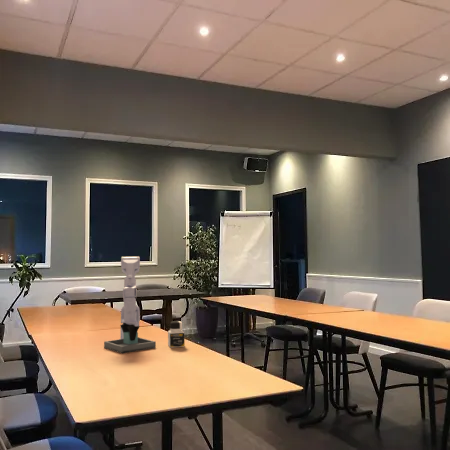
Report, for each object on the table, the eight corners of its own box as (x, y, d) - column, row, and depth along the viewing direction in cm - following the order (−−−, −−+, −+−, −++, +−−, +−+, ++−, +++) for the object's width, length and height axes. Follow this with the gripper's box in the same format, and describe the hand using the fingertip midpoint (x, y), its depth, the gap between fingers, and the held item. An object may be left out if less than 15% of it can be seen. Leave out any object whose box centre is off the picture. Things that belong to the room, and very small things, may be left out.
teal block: (123, 342, 225) (123, 332, 225) (132, 341, 228) (132, 331, 228) (128, 344, 221) (128, 333, 221) (137, 342, 224) (137, 332, 224)
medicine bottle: (170, 347, 223) (170, 322, 224) (167, 345, 230) (167, 320, 231) (184, 346, 225) (184, 322, 226) (182, 344, 232) (181, 320, 233)
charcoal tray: (104, 347, 225) (104, 341, 225) (136, 342, 237) (136, 336, 237) (122, 353, 211) (122, 346, 212) (155, 347, 223) (155, 341, 223)
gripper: (115, 310, 228) (115, 338, 227) (129, 313, 217) (129, 342, 216) (128, 309, 233) (127, 336, 232) (143, 312, 222) (143, 340, 221)
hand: (129, 339), depth 224 cm, fingers closed on teal block, 5 cm apart
